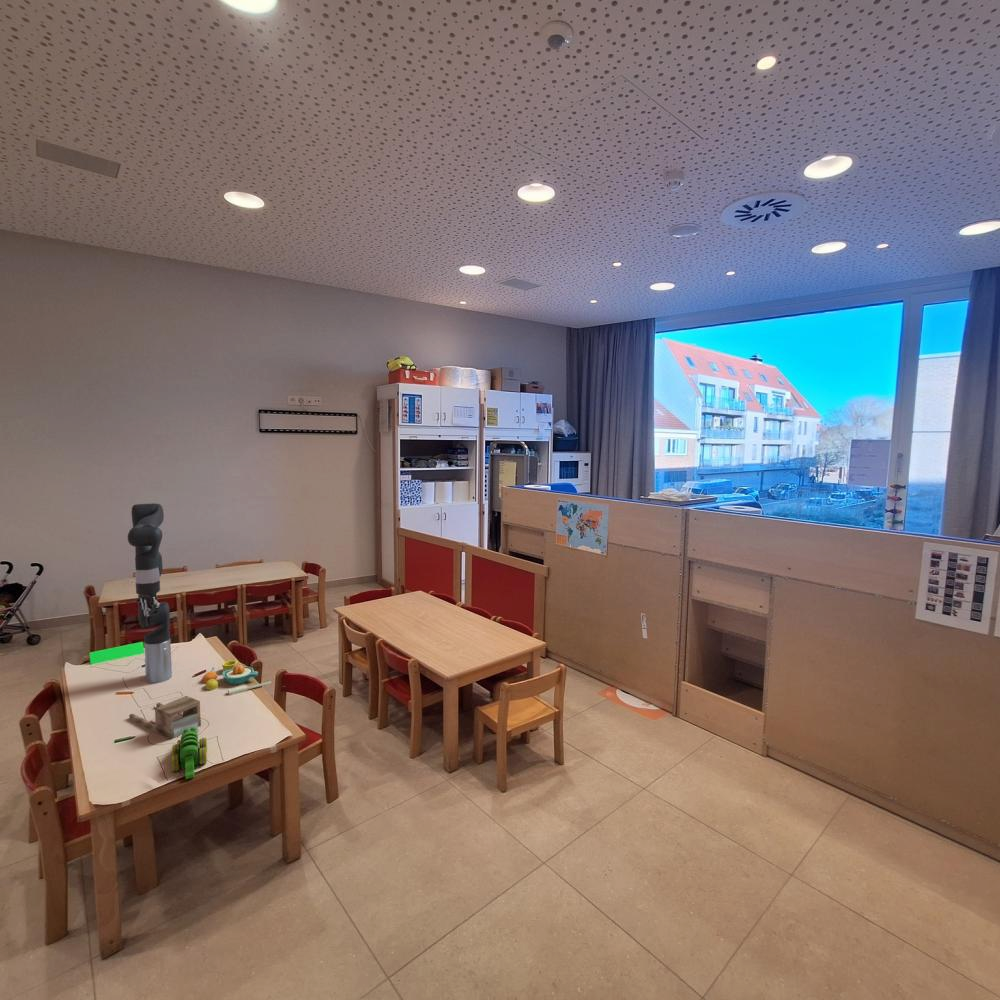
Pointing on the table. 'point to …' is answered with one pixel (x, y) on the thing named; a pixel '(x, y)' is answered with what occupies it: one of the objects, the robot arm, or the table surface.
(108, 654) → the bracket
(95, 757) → the table surface
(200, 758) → the toy alligator
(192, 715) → the wooden crate
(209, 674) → the toy juicer set
